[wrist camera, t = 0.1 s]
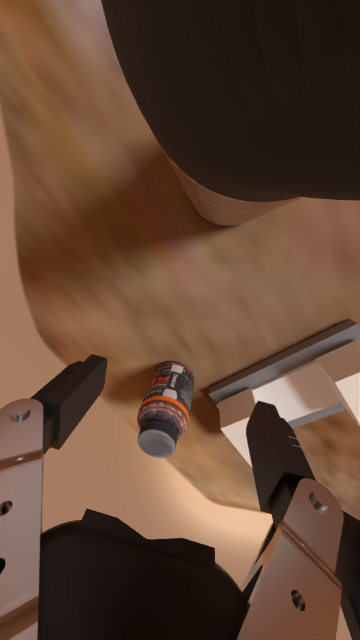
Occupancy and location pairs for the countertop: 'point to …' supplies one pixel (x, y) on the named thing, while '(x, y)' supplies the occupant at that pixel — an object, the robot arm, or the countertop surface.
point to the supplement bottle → (165, 409)
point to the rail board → (295, 384)
